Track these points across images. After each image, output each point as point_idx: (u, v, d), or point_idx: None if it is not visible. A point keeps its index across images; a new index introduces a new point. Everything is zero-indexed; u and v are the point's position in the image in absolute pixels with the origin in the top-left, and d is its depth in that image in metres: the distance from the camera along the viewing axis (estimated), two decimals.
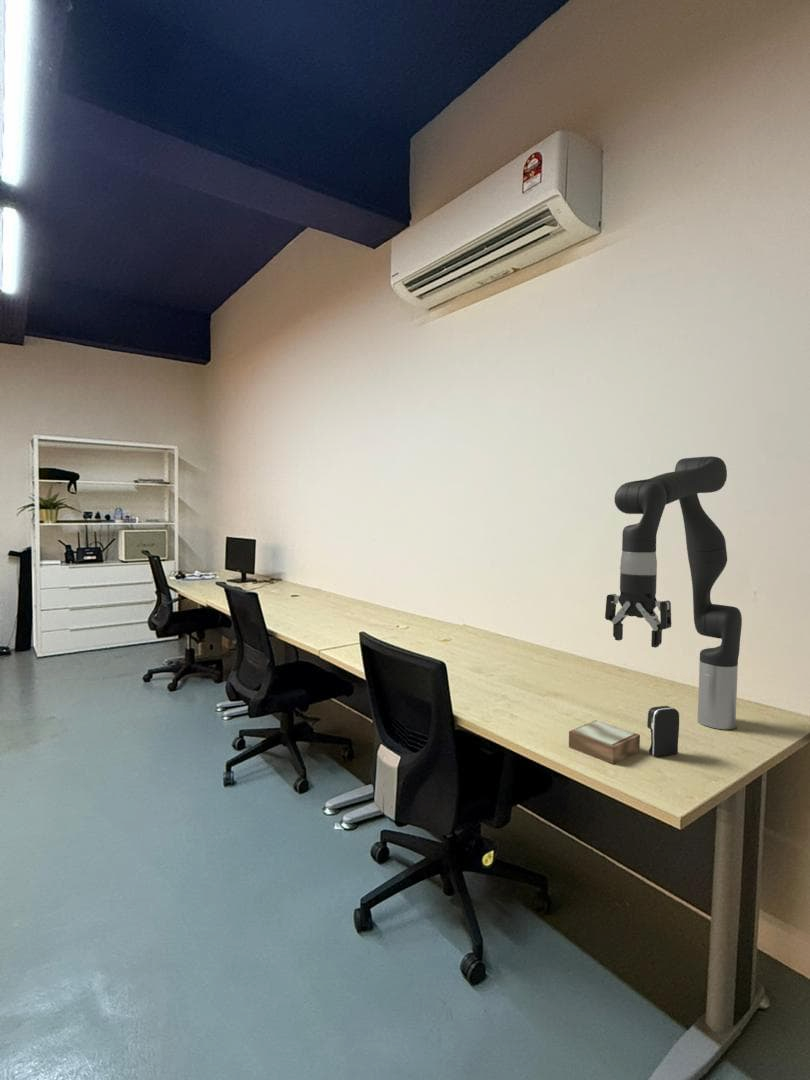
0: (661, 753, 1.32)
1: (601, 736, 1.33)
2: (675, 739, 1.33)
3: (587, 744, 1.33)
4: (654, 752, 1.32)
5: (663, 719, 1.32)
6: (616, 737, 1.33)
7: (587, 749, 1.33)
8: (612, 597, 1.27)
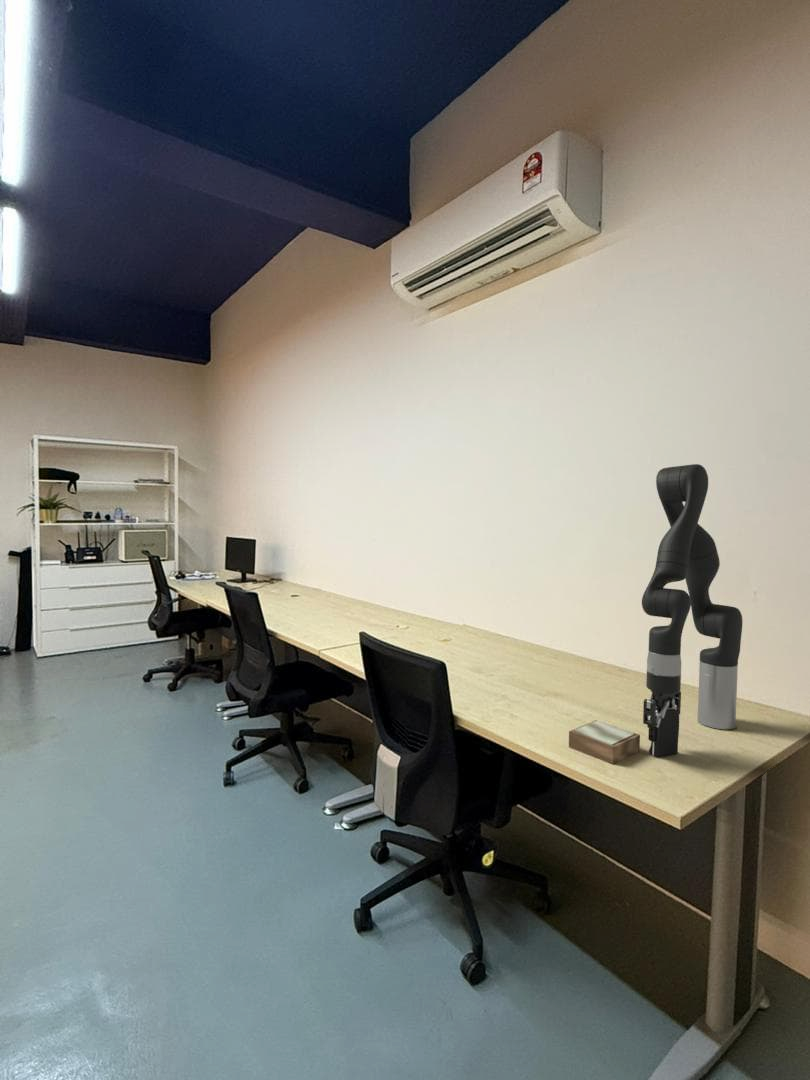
0: (661, 753, 1.32)
1: (601, 736, 1.33)
2: (675, 739, 1.33)
3: (587, 744, 1.33)
4: (654, 752, 1.32)
5: (663, 719, 1.32)
6: (616, 737, 1.33)
7: (587, 749, 1.33)
8: None
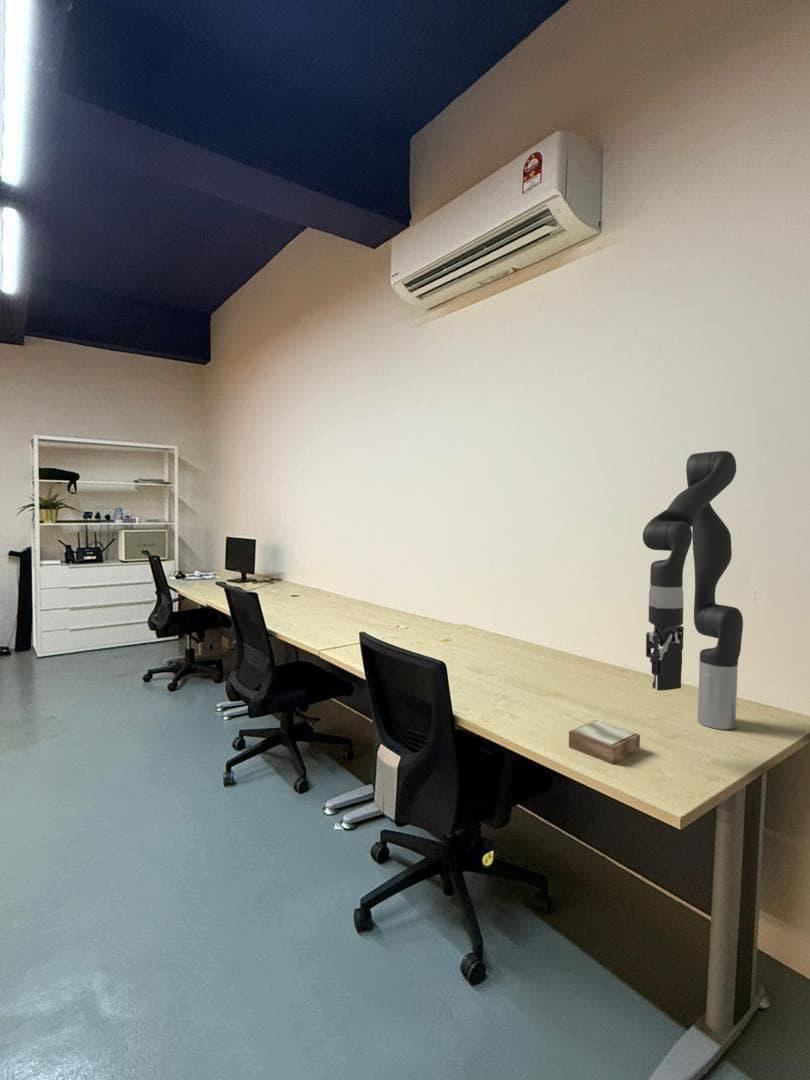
0: (664, 687, 1.31)
1: (601, 736, 1.33)
2: (678, 672, 1.32)
3: (587, 744, 1.33)
4: (657, 686, 1.31)
5: (665, 652, 1.31)
6: (616, 737, 1.33)
7: (587, 749, 1.33)
8: None
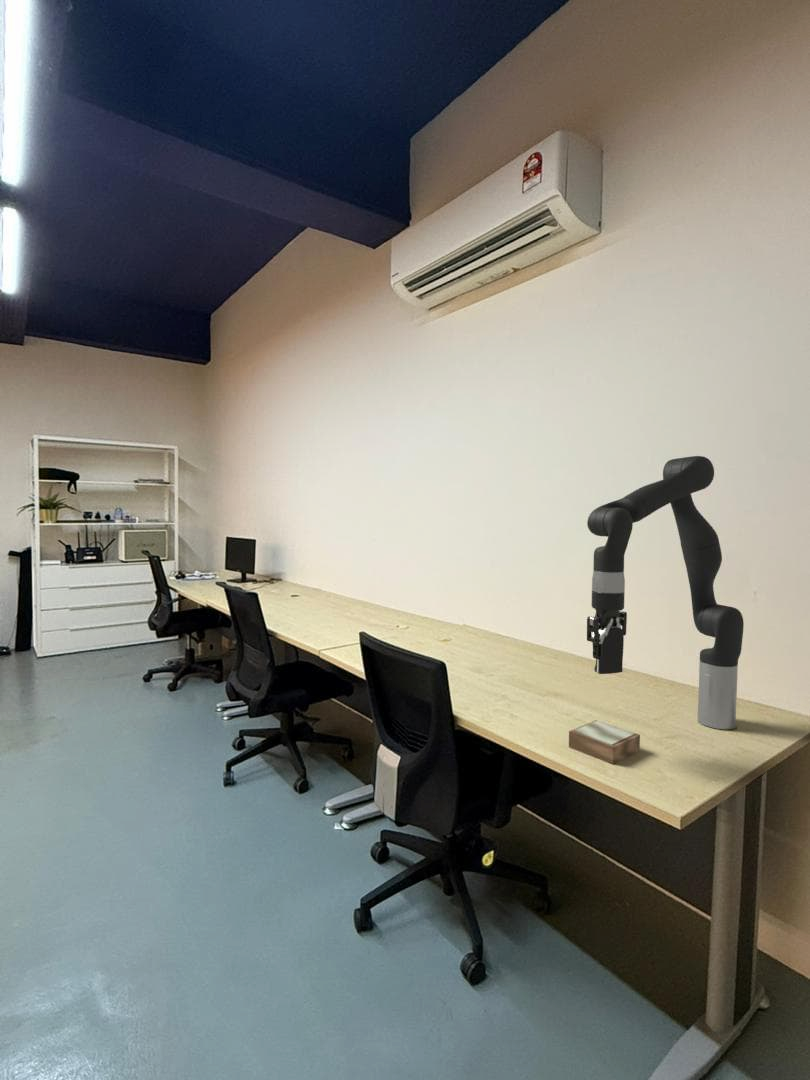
0: (605, 670, 1.33)
1: (601, 736, 1.33)
2: (619, 657, 1.34)
3: (587, 744, 1.33)
4: (598, 670, 1.33)
5: (607, 636, 1.33)
6: (616, 737, 1.33)
7: (587, 749, 1.33)
8: None
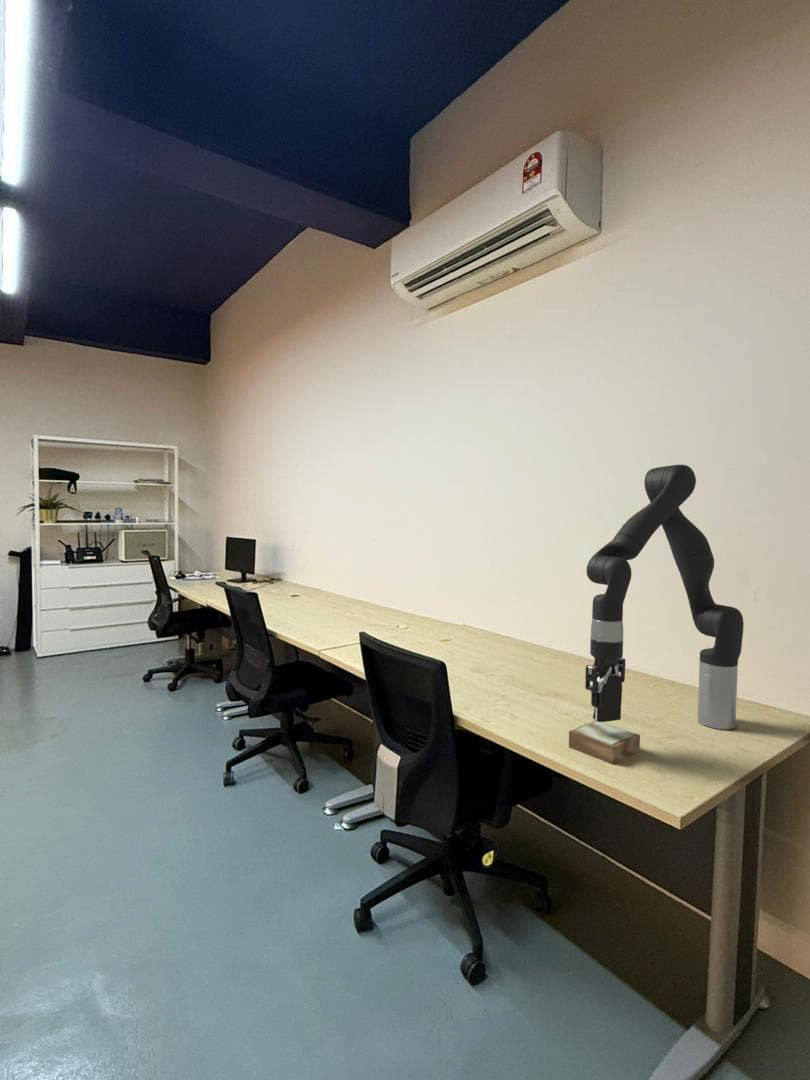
0: (604, 718, 1.34)
1: (601, 736, 1.33)
2: (617, 704, 1.35)
3: (587, 744, 1.33)
4: (597, 717, 1.34)
5: (605, 684, 1.33)
6: (616, 737, 1.33)
7: (587, 749, 1.33)
8: None
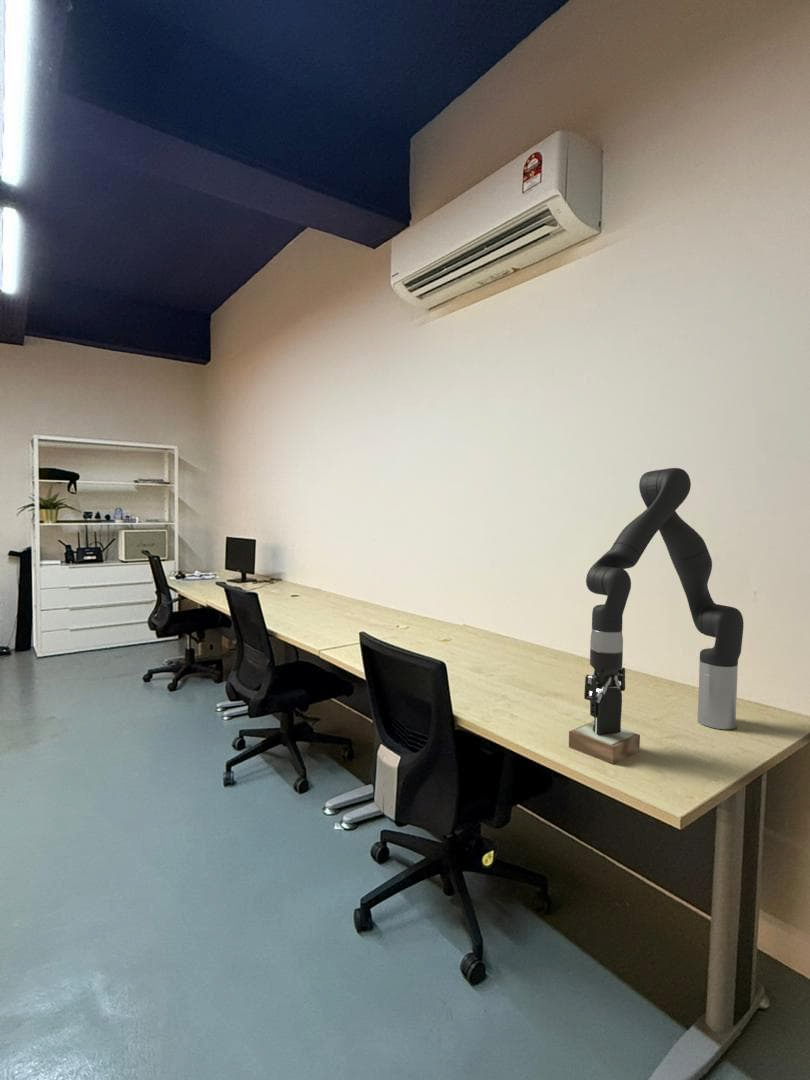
0: (603, 731, 1.34)
1: (601, 736, 1.33)
2: (617, 717, 1.35)
3: (587, 744, 1.33)
4: (597, 730, 1.34)
5: (605, 697, 1.34)
6: (616, 737, 1.33)
7: (587, 749, 1.33)
8: None
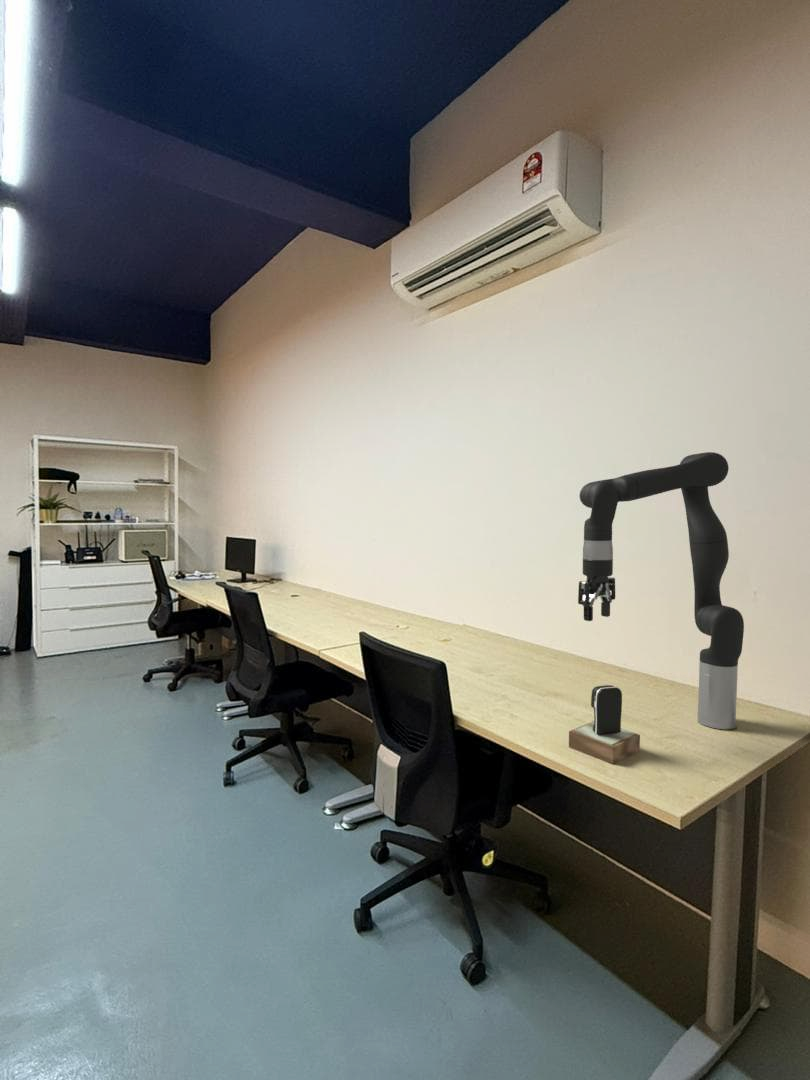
0: (603, 731, 1.34)
1: (601, 736, 1.33)
2: (617, 717, 1.35)
3: (587, 744, 1.33)
4: (597, 730, 1.34)
5: (605, 697, 1.34)
6: (616, 737, 1.33)
7: (587, 749, 1.33)
8: None
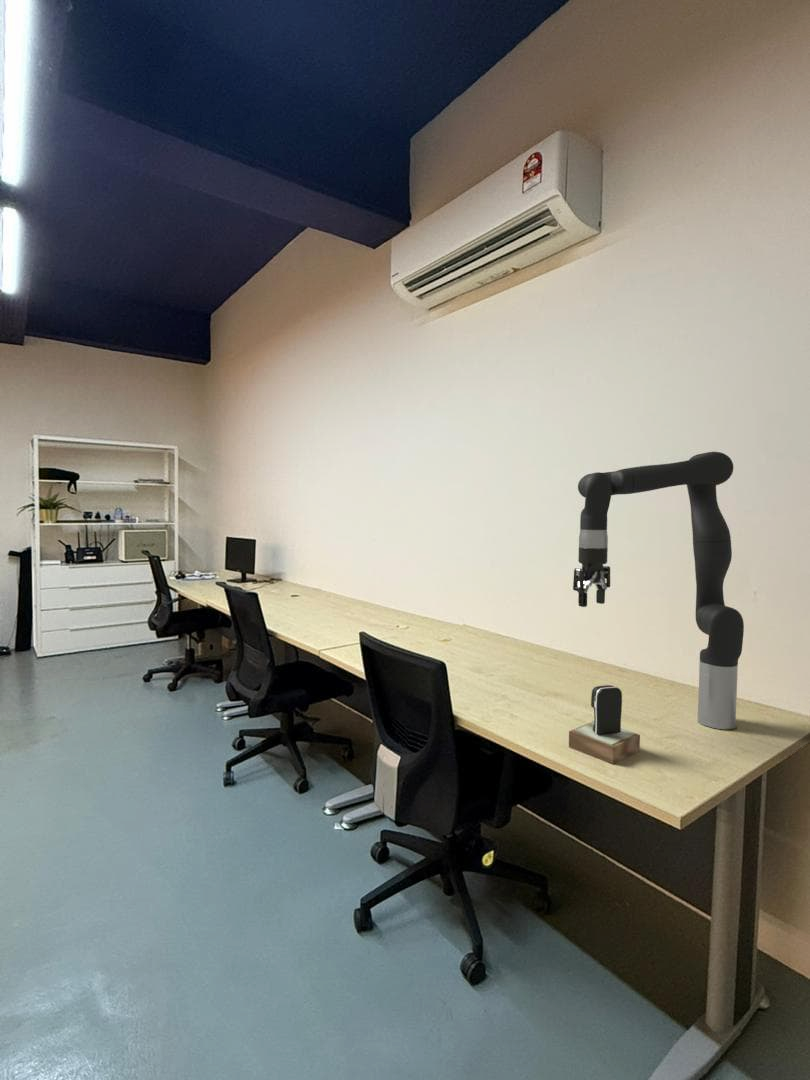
0: (603, 731, 1.34)
1: (601, 736, 1.33)
2: (617, 717, 1.35)
3: (587, 744, 1.33)
4: (597, 730, 1.34)
5: (605, 697, 1.34)
6: (616, 737, 1.33)
7: (587, 749, 1.33)
8: None
